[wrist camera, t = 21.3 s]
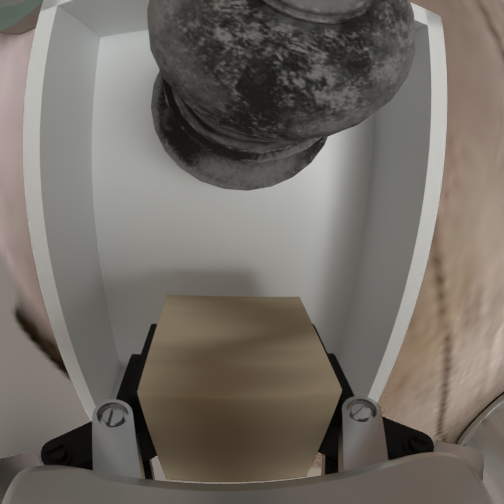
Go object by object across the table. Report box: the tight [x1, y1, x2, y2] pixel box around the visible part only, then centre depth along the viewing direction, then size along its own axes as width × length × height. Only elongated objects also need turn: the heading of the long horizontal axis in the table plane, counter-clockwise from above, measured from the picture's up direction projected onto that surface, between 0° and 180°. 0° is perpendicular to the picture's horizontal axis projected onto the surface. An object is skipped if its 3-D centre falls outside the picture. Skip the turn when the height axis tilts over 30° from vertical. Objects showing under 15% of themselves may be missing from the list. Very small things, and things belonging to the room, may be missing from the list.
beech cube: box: [137, 295, 342, 482], centre depth 10 cm, size 5×5×5 cm
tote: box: [23, 0, 447, 422], centre depth 12 cm, size 20×15×5 cm
